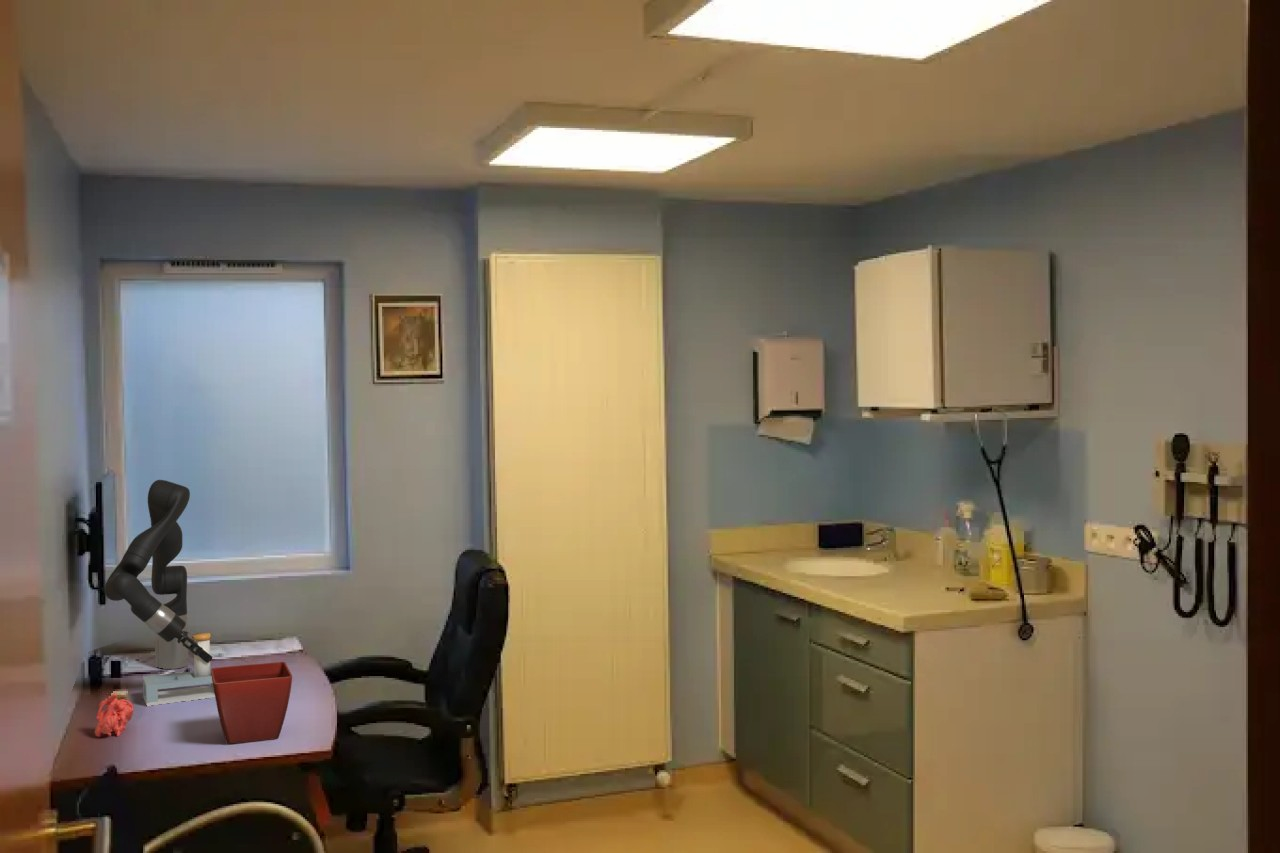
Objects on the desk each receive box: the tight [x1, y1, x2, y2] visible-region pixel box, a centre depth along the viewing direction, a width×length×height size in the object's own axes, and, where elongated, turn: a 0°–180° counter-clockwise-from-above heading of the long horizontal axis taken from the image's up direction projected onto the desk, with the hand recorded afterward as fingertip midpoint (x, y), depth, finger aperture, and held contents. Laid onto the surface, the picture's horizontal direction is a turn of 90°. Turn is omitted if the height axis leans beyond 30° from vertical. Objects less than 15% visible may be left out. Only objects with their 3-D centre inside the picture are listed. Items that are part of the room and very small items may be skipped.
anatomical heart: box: [94, 692, 134, 738], centre depth 305 cm, size 9×12×12 cm
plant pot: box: [210, 661, 293, 744], centre depth 302 cm, size 19×19×17 cm
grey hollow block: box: [142, 668, 215, 707], centre depth 342 cm, size 22×12×6 cm, turn 118°
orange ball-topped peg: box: [192, 632, 211, 678], centre depth 344 cm, size 5×5×14 cm
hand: (208, 658), depth 345 cm, fingers closed on orange ball-topped peg, 4 cm apart
